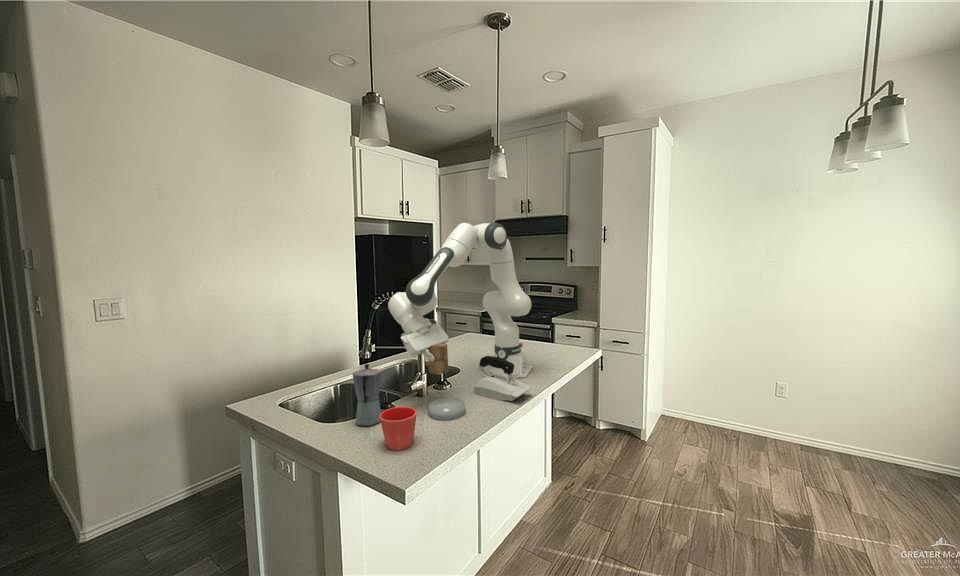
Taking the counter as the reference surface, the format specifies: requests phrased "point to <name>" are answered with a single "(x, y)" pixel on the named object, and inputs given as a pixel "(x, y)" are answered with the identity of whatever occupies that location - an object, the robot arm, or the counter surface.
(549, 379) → the counter surface
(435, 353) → the walnut block
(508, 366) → the iron
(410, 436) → the flower pot
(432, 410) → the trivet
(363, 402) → the moka pot
